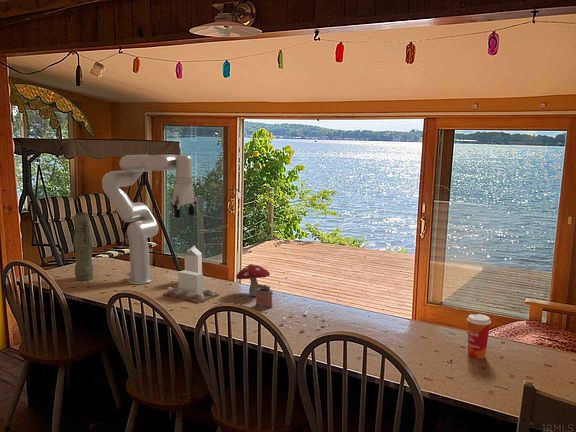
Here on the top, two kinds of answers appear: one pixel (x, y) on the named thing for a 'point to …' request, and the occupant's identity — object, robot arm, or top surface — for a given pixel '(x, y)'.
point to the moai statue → (83, 247)
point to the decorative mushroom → (252, 276)
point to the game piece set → (304, 324)
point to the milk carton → (193, 260)
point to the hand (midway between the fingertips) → (184, 216)
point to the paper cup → (478, 335)
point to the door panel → (190, 281)
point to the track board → (190, 295)
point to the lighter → (264, 296)
